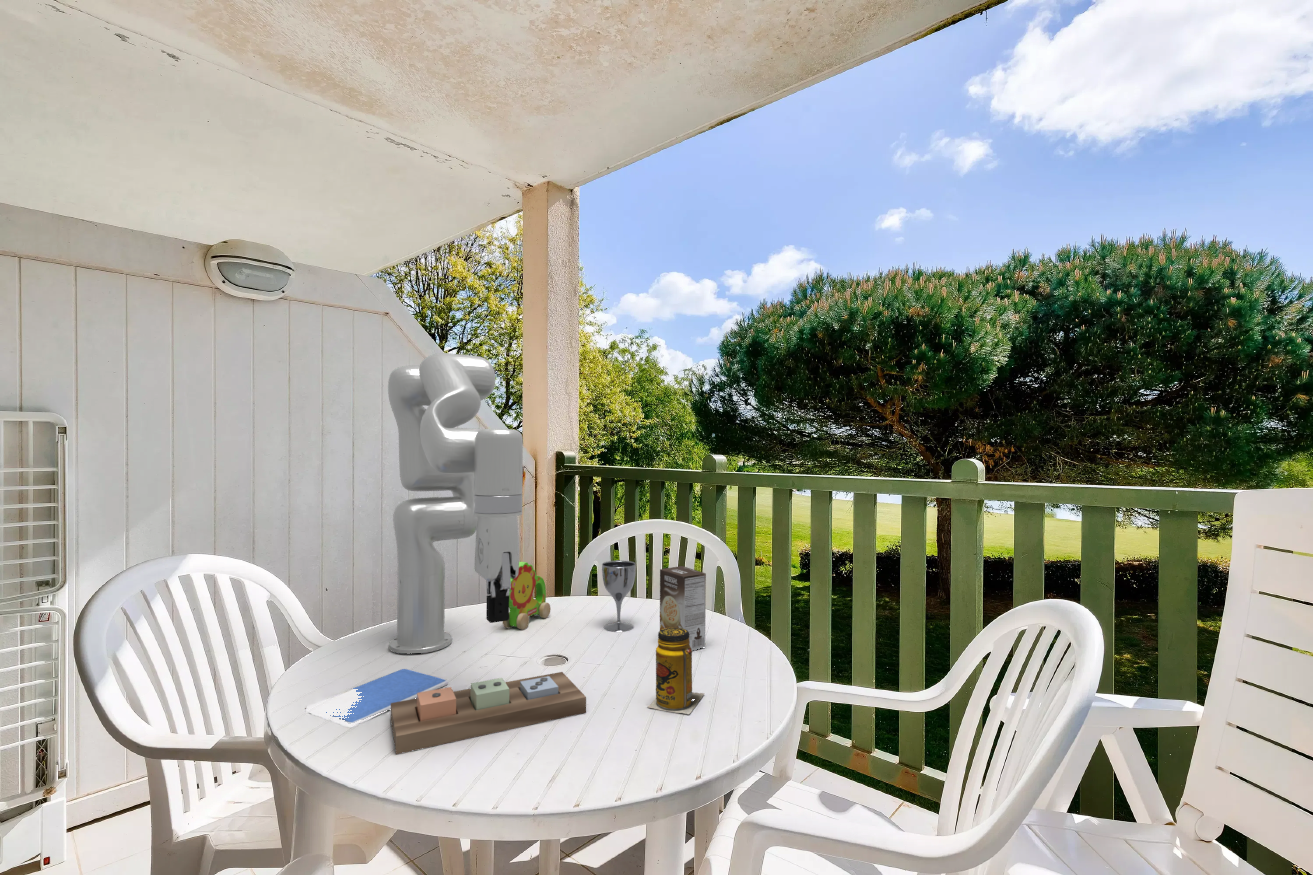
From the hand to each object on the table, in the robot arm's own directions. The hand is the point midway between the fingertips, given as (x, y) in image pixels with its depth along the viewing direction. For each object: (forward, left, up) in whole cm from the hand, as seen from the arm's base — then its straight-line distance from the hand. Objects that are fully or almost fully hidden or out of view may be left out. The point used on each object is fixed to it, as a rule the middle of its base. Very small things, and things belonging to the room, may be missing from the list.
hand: (497, 620), depth 94 cm
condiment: (+9, +28, -15) cm, 33 cm away
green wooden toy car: (-46, +17, -15) cm, 51 cm away
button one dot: (0, -9, -13) cm, 16 cm away
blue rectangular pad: (-16, -16, -16) cm, 28 cm away
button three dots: (0, +7, -14) cm, 16 cm away
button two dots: (0, -1, -13) cm, 13 cm away
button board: (0, -1, -15) cm, 15 cm away
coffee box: (-15, +43, -15) cm, 48 cm away
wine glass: (-33, +36, -15) cm, 51 cm away
